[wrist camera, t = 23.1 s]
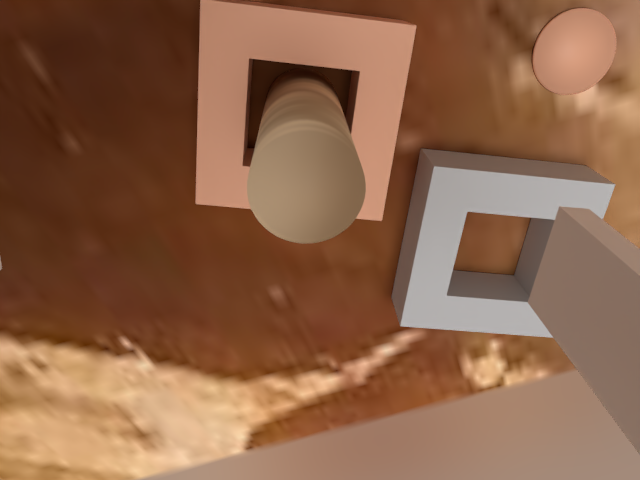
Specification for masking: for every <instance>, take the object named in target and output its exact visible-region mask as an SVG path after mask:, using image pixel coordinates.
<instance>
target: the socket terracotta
mask: <svg viewBox="0 0 640 480" xmlns="http://www.w3.org/2000/svg"><path fill="white" fill-rule="evenodd" d="M415 32H416V25H414V24H412V23H409V22H407V21H404V20H398V19H390V18H381V17H373V16H365V15H357V14H349V13H341V12H333V11H325V10H317V9H309V8H301V7H293V6H284V5H276V4H268V3H260V2H252V1H244V0H200V37H199V79H198V122H197V164H196V204H202V205H213V206H224V207H235V208H246V209H251V207H250V204H249V200H248V196H247V180H248V174H249V170H250V166H251V161H252V157H253V153H254V148H247V145H248V130H249V114H250V98H251V82H252V66H253V59H259V60H267V61H276V62H285V63H293V64H302V65H311V66H320V67H328V68H337V69H346V70H352V75H351V83H350V90H349V97H348V105H347V112H346V122H347V125H348V128H349V131H350V134H351V137H352V140H353V143H354V145H355V148H356V151H357V154H358V157H359V160H360V163H361V166H362V169H363V172H364V176H365V182H366V192H365V199H364V202H363V206H362V208H361V210H360V212H359V214H358V216H357V217H356V219H367V220H378V221H382V217H383V212H384V206H385V200H386V195H387V189H388V183H389V178H390V172H391V167H392V161H393V155H394V150H395V144H396V138H397V133H398V127H399V122H400V116H401V110H402V105H403V99H404V94H405V88H406V82H407V77H408V71H409V65H410V60H411V54H412V49H413V43H414V37H415Z"/></svg>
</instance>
